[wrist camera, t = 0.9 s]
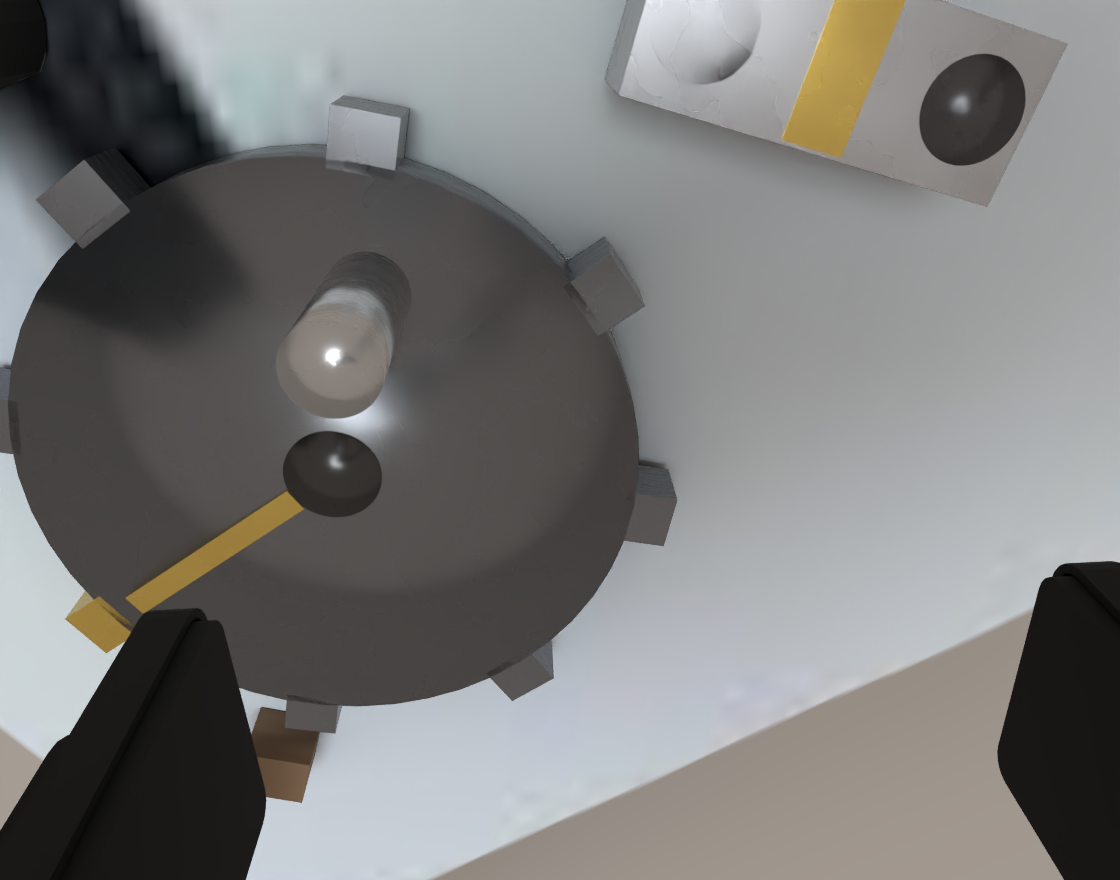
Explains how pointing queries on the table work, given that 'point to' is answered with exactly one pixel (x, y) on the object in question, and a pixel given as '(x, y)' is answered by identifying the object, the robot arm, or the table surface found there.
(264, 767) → the block
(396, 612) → the sprocket
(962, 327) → the table surface
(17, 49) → the camera
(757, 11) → the dimpled metal block
